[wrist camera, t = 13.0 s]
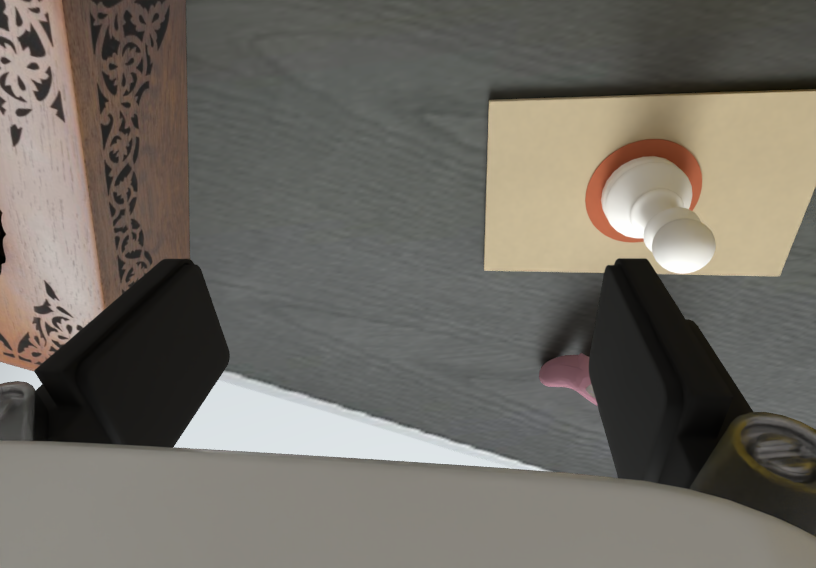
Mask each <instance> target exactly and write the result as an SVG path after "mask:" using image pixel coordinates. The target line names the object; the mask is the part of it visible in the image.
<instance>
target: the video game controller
mask: <svg viewBox="0 0 816 568" xmlns="http://www.w3.org/2000/svg"><path fill="white" fill-rule="evenodd" d="M589 358H590V357H587V356H586V355H584V354H582V353H580V354H579V355H565V356H560V357H557V358H554V359H552V360H550V361H548V362H546V363H545V364H544V365H543V366H542V367H541V370H540V373H539V378H540V381H541V382H542V383H543V384H544V385H546V386H549V387H568V388H571V389H573V390H576V391H577V392H579V393H580V394H581V395H583V396H584V397H585V398H587V399H588V400H589V401H591V402H592V403H594V404H595V405H597V402H596V398H595V395H594V391H593V388H592V384H591V381H590V377H589ZM597 406H598V405H597Z"/></svg>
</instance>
